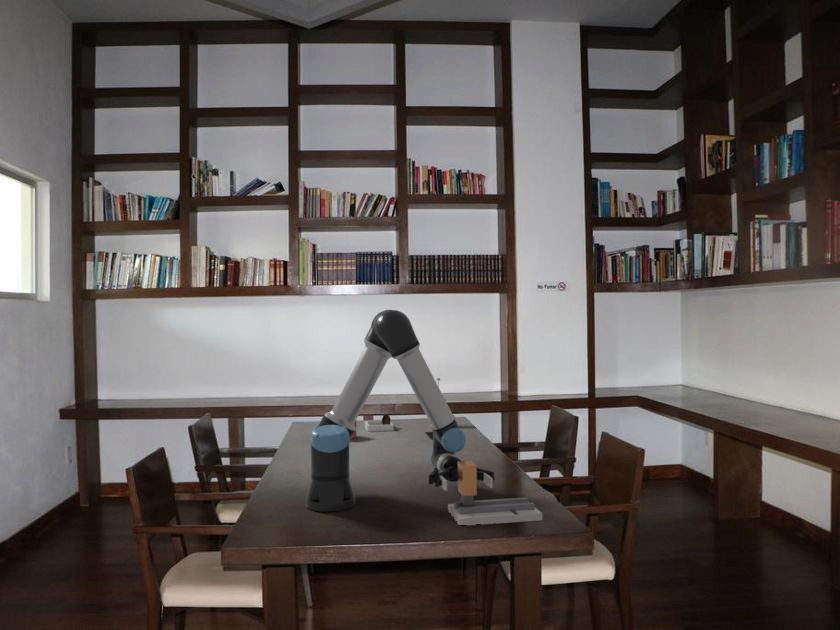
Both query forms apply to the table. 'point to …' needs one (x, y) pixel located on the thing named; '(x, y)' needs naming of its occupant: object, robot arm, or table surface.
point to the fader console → (495, 511)
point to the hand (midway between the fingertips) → (468, 484)
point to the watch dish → (378, 426)
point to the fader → (467, 482)
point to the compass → (386, 419)
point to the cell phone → (430, 434)
